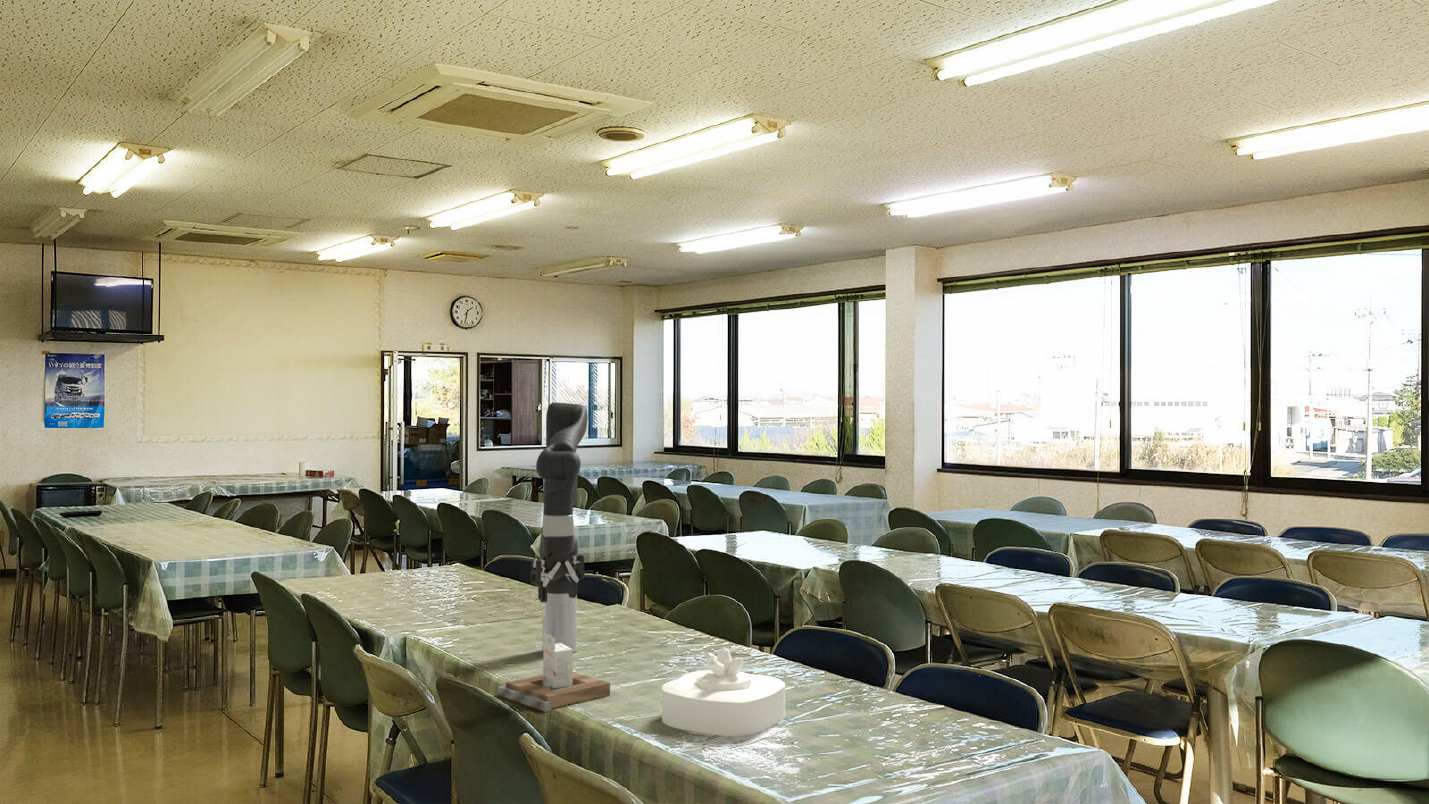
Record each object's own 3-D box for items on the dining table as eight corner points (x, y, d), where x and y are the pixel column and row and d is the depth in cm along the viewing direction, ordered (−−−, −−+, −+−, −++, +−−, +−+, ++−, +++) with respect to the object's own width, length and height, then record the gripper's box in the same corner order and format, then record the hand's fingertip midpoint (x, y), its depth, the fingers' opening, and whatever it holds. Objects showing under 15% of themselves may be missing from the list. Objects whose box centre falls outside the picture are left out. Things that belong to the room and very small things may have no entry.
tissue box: (747, 742, 218) (747, 664, 218) (647, 724, 231) (647, 651, 231) (797, 712, 240) (797, 642, 240) (703, 697, 252) (703, 631, 252)
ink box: (573, 697, 251) (574, 636, 251) (554, 700, 249) (554, 638, 249) (561, 689, 258) (561, 630, 259) (542, 692, 256) (542, 632, 256)
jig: (497, 694, 253) (497, 682, 253) (563, 680, 267) (563, 669, 267) (545, 711, 239) (545, 698, 239) (612, 696, 252) (612, 683, 253)
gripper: (572, 529, 261) (572, 594, 261) (524, 534, 252) (524, 601, 251) (591, 532, 256) (590, 598, 256) (542, 537, 246) (542, 605, 246)
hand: (557, 599), depth 254 cm, fingers open, 8 cm apart
